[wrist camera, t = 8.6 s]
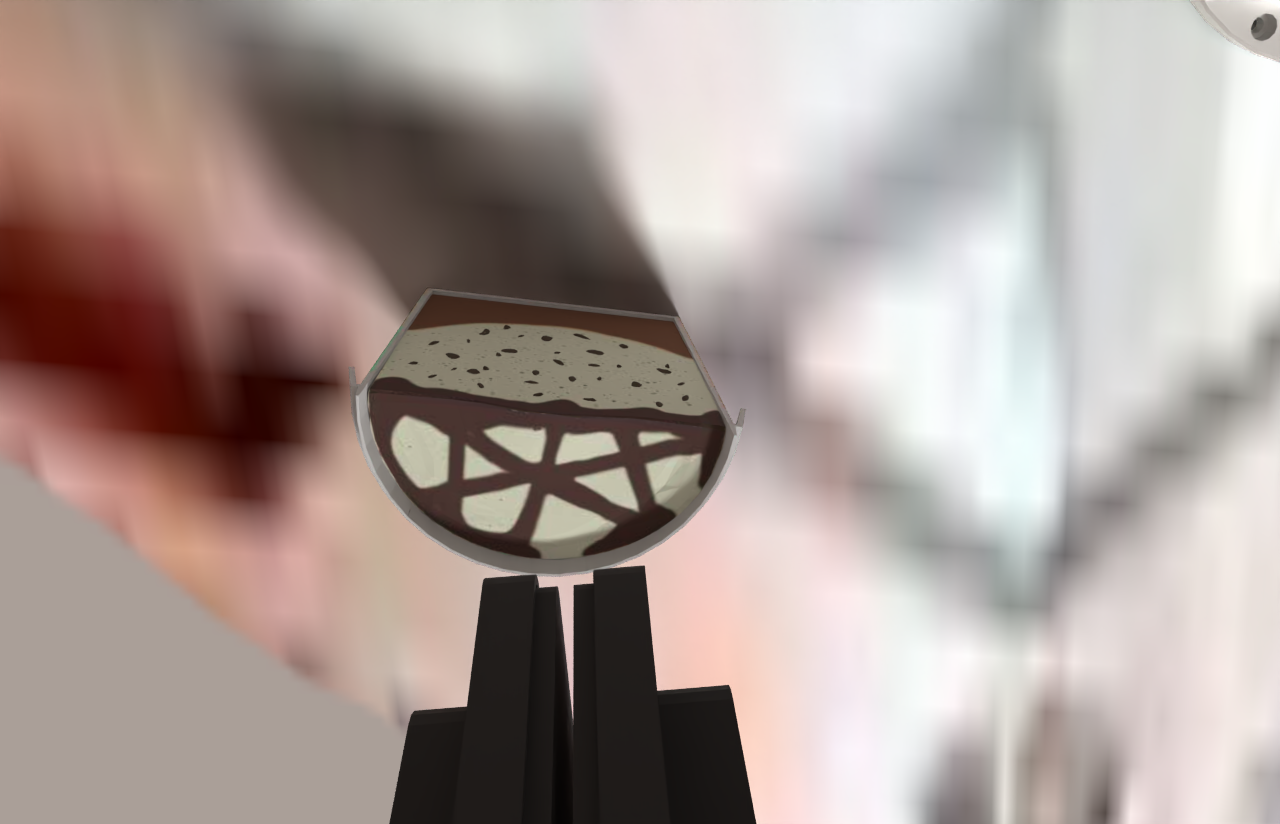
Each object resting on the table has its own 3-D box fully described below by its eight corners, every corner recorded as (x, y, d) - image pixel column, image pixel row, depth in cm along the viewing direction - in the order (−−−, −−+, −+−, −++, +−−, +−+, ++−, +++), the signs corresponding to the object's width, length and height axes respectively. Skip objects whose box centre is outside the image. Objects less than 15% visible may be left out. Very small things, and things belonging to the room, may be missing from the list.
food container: (377, 434, 47) (330, 573, 37) (385, 282, 44) (337, 393, 35) (692, 466, 48) (720, 608, 39) (718, 321, 45) (754, 437, 36)
